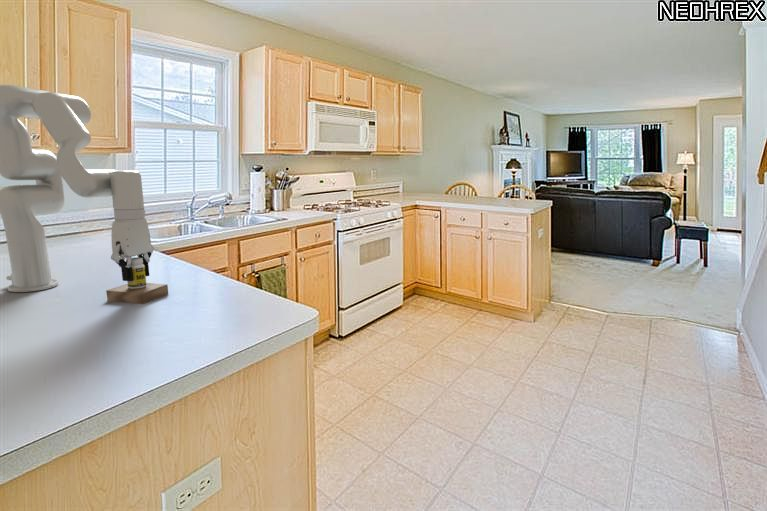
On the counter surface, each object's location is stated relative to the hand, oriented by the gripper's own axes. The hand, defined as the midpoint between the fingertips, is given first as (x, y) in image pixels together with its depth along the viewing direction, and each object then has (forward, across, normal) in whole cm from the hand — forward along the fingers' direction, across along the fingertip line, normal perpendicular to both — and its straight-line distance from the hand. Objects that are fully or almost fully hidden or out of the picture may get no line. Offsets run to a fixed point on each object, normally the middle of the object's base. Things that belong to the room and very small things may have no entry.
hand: (136, 277), depth 132 cm
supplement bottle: (+3, 0, 0) cm, 3 cm away
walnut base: (+6, 0, 0) cm, 6 cm away
